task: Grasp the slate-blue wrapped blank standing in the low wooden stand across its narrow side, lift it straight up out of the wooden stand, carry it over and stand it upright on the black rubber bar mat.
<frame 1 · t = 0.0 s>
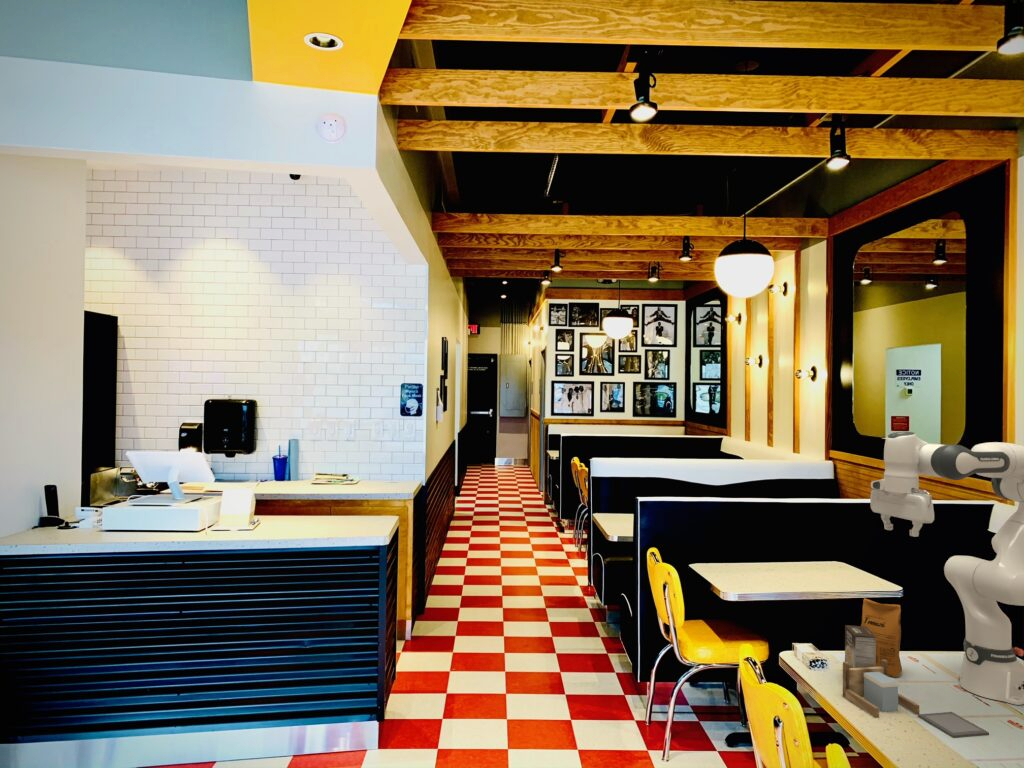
hand: (901, 532, 183), 48 cm above the table, fingers open, 8 cm apart
mat: (952, 725, 165), on the table
coffee box: (859, 683, 190), on the table
wooden stand: (880, 705, 176), on the table
coffee package: (879, 670, 201), on the table
blank: (880, 705, 176), on the table
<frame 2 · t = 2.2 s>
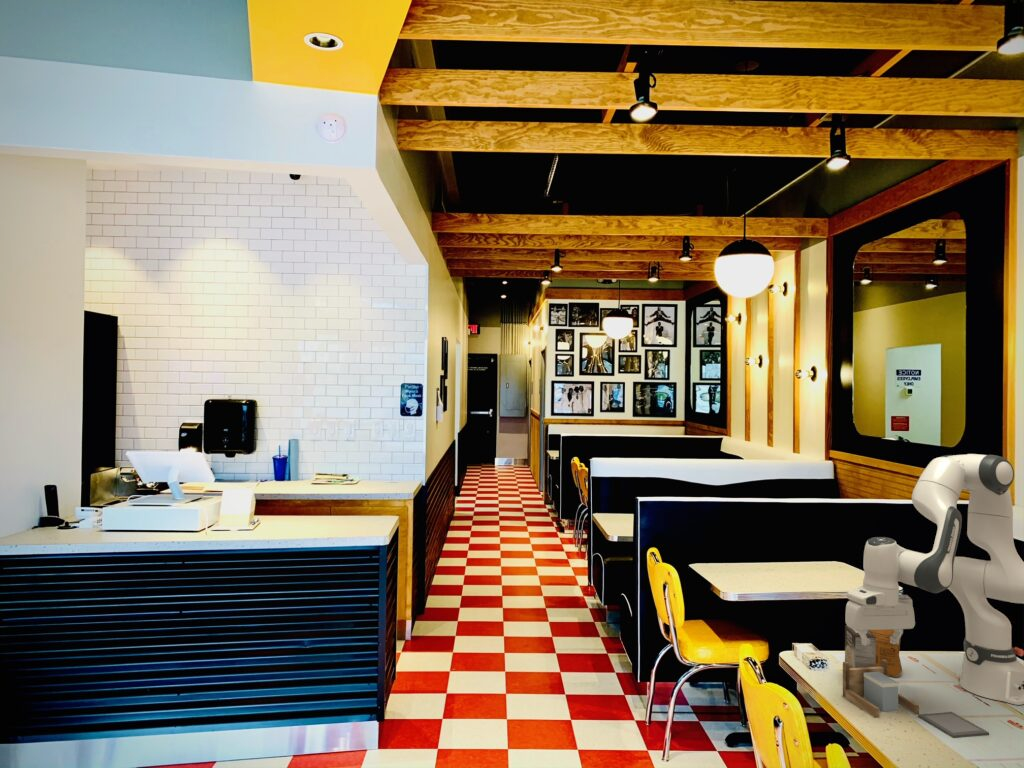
hand: (880, 644, 176), 17 cm above the table, fingers open, 8 cm apart
nothing on the table moved.
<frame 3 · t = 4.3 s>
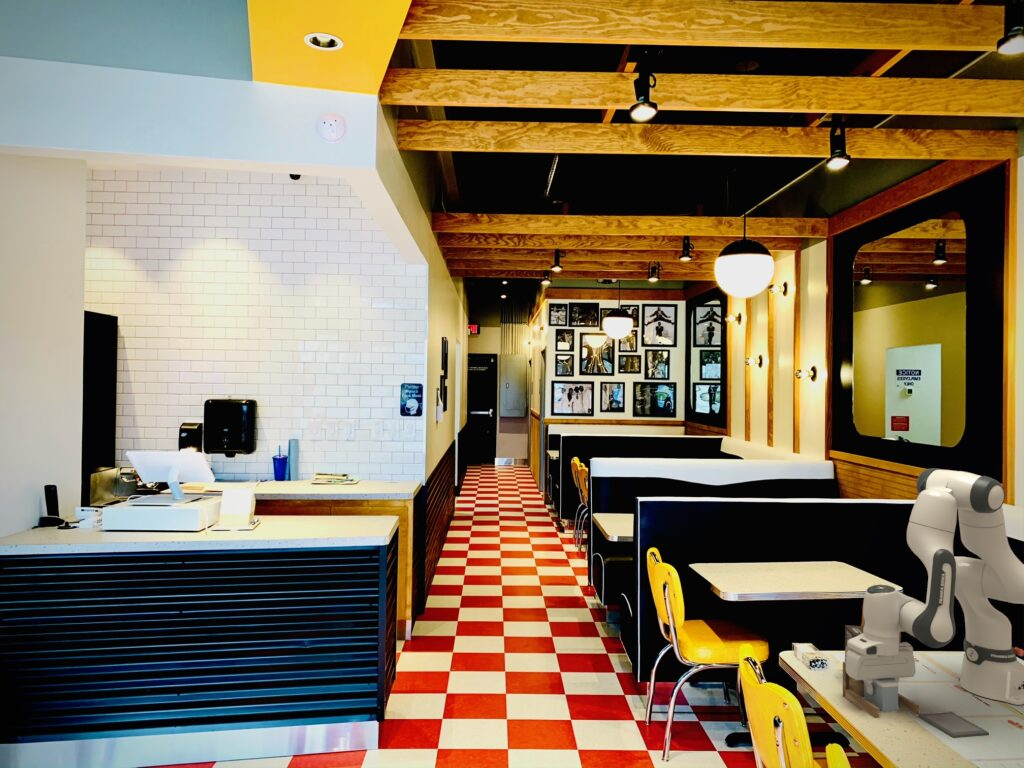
hand: (880, 692, 176), 4 cm above the table, fingers closed on blank, 5 cm apart
blank: (880, 705, 176), on the table, touching gripper
everything else where it was.
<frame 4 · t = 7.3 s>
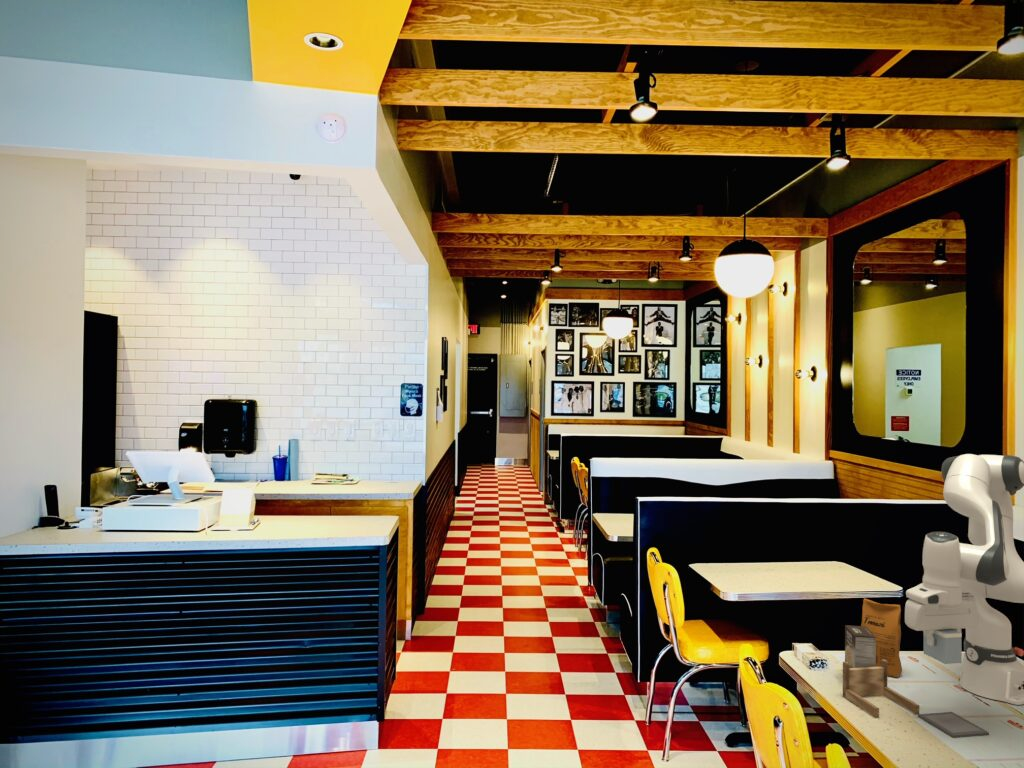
hand: (942, 644, 168), 21 cm above the table, fingers closed on blank, 5 cm apart
blank: (942, 658, 168), point 17 cm above the table, touching gripper
everything else where it was.
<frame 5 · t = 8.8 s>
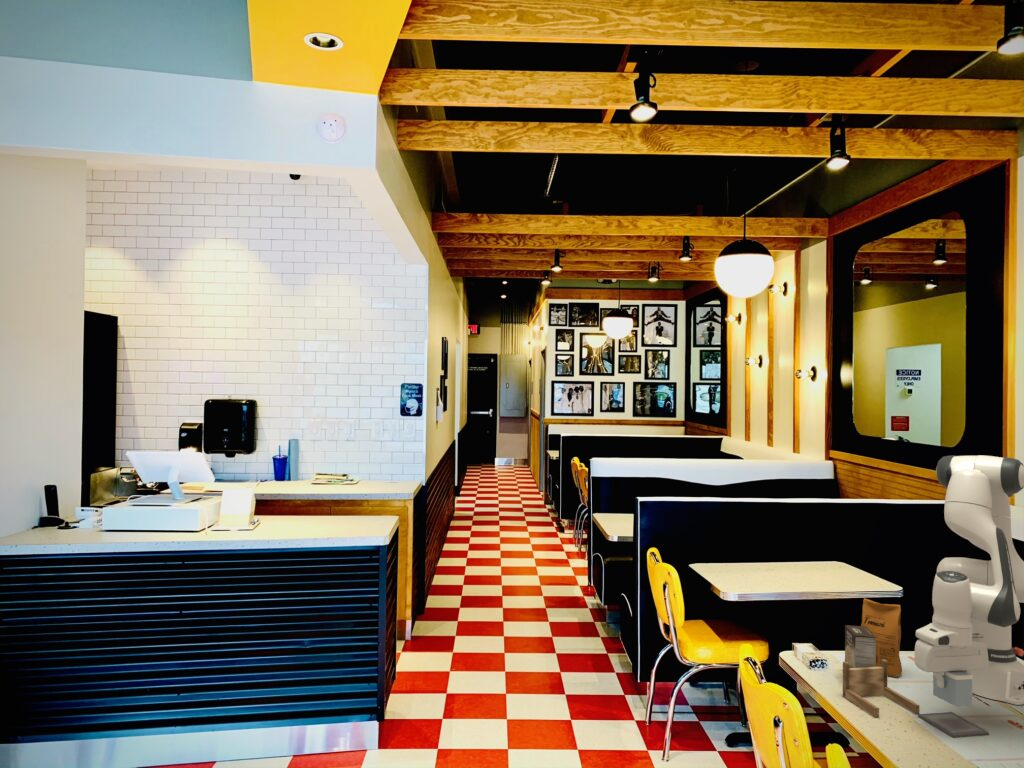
hand: (952, 686, 166), 10 cm above the table, fingers closed on blank, 5 cm apart
blank: (952, 700, 165), point 7 cm above the table, touching gripper
everything else where it was.
when the fingers open (5 cm above the table, at t = 10.3 s): blank drops 1 cm, resting on mat.
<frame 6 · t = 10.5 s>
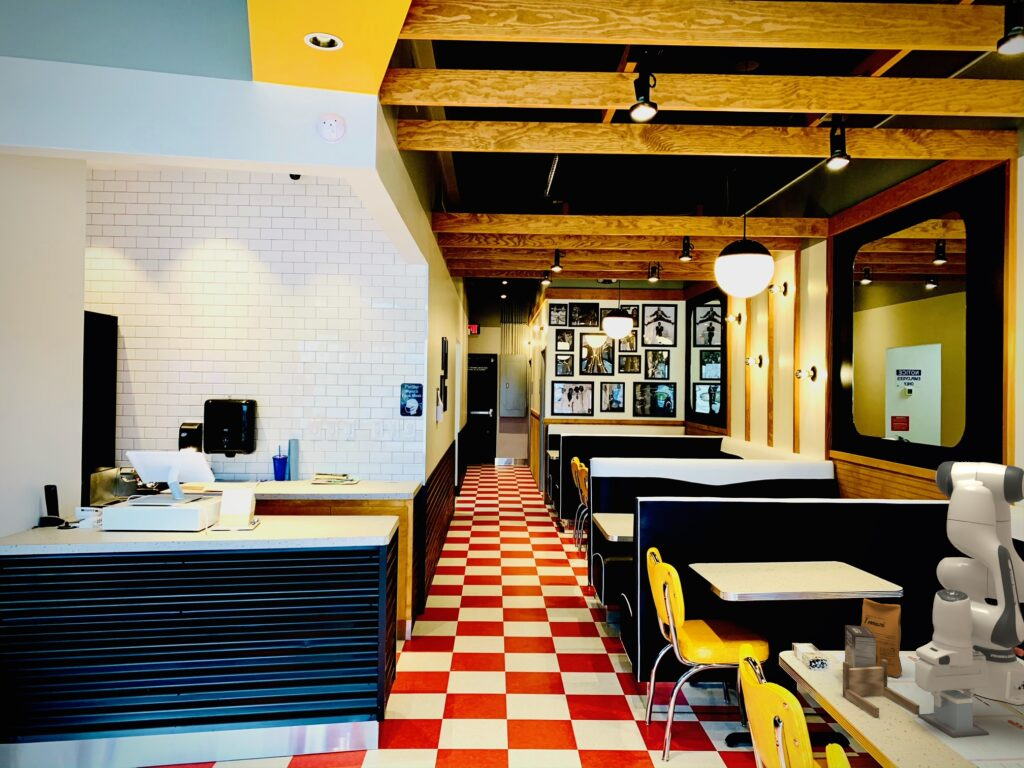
hand: (952, 704, 166), 5 cm above the table, fingers open, 7 cm apart
blank: (952, 722, 165), point 1 cm above the table, touching mat
everything else where it was.
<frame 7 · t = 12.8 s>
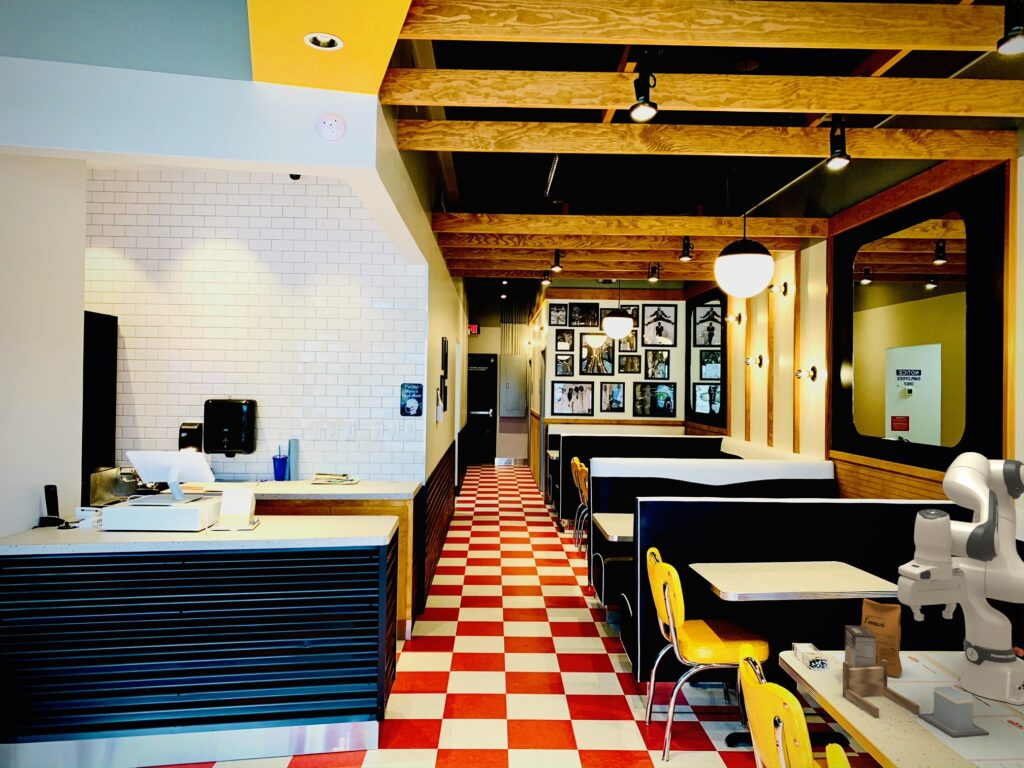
hand: (933, 619, 172), 26 cm above the table, fingers open, 8 cm apart
nothing on the table moved.
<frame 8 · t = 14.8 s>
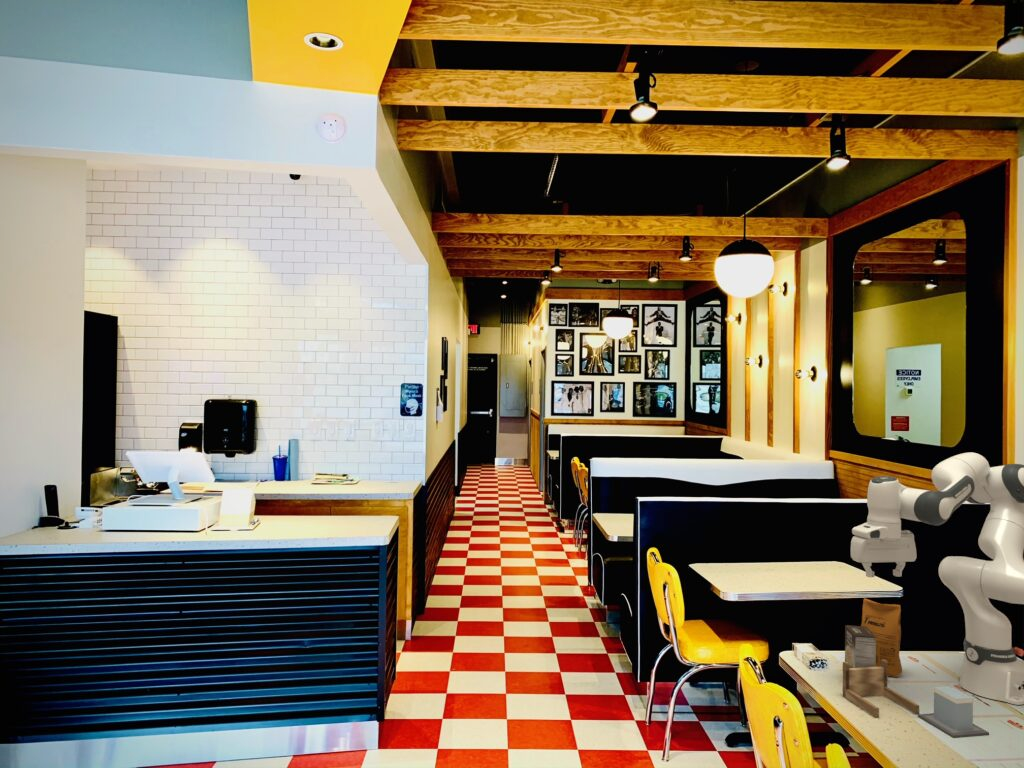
hand: (883, 576, 186), 34 cm above the table, fingers open, 8 cm apart
nothing on the table moved.
at the end: blank inside the target area on the mat (0.1 cm from its centre), point 0.6 cm above the mat's base; blank tilted 0°; the gripper is holding nothing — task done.
